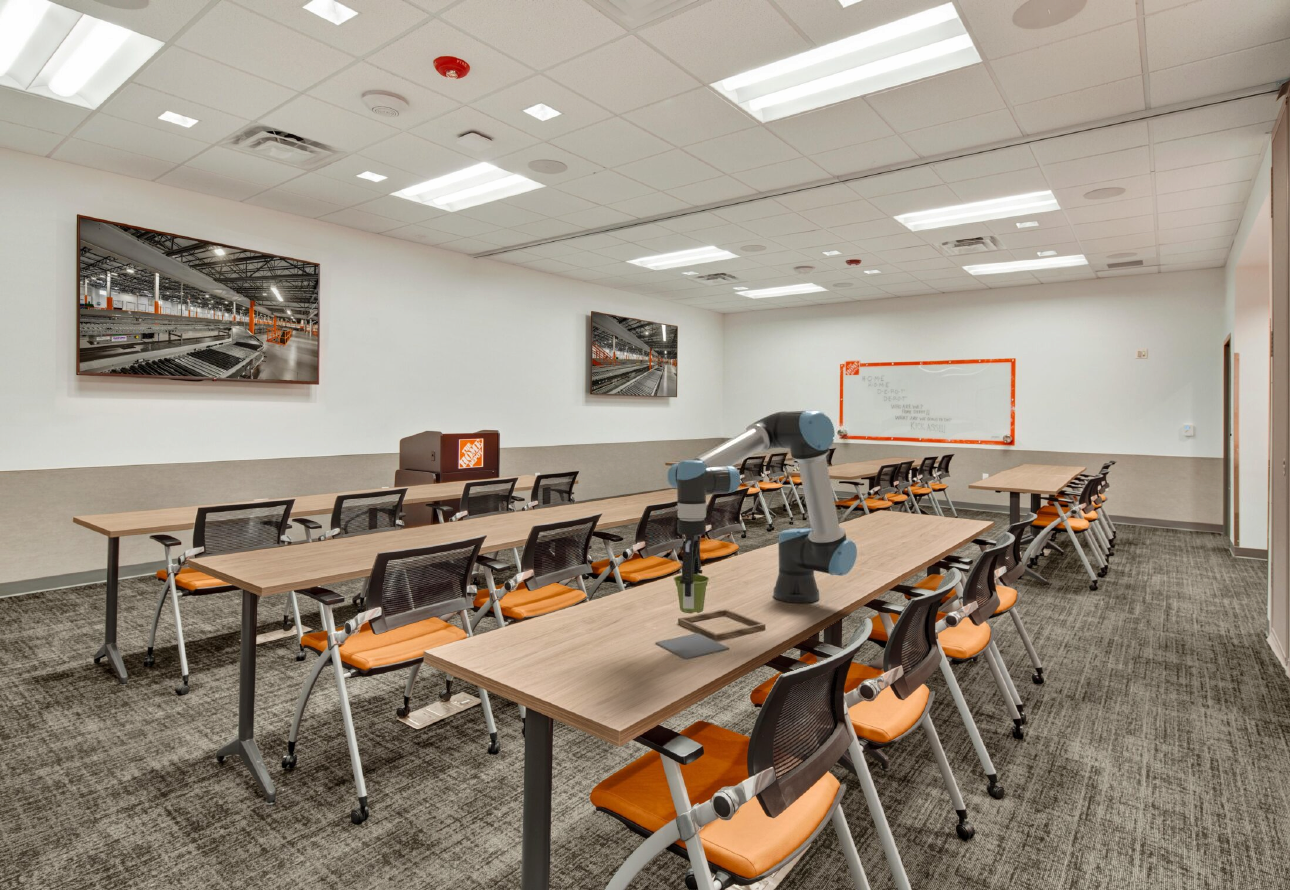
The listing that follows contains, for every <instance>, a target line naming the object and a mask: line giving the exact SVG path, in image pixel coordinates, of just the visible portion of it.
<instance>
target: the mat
mask: <svg viewBox="0 0 1290 890" xmlns="http://www.w3.org/2000/svg"><path fill="white" fill-rule="evenodd" d="M655 644H656V645H657V646H660V647H661V648H663V649H664V650H666V651H669V652H671V653H672V654H674V655H676V656H677V657H680V658H682V659H684V660H685V661H686V660H690V659H694V658H698V657H703V656H706V655H710V654H714V653H719V652H722V651H723V652H724V651H727V650H730V647H729V646H727V645H724V644H722V643H720V642H718V641H715V640H713V639H711V638H708V637H706V636H704V635H702V634H700V633H698V632H695V633H691V634H687V635H682V636H678V637H677V636H676V637H673V638H669V639H665V640H660V641H655Z"/></svg>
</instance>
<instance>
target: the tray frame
mask: <svg viewBox="0 0 1290 890" xmlns="http://www.w3.org/2000/svg"><path fill="white" fill-rule="evenodd" d="M722 616H726V617H729V618H732V619H734V620H735V621H736V620H737V621H739V622H741V623H745V624H747V625H749V626H745V627H741V628H736V629H731V630H728V631H722V632H718V633H716V632H714V631H711V630H709V629H707V628H705V627H702V626H700V625H697V624H696V623H694V622H698V621H704V620H709V619H712V618H718V617H722ZM677 623H678V625H680V626H682V627H684V628H687V629H689V630H691V631H693V632H695V633H699V634H701V635H703V636H705V637H707V638H709V639H712V640H714V641H716V642H718V641H721V640H726V639H729V638H734V637H739V636H743V635H747V634H750V633H756V632H760V631H765V630H766V623H763V622H761V621H759V620H756V619H753V618H750V617H747V616H745V615H742V614H740V613H737V612H735V611H733V610H729V609H727V608H724V609H719V610H718V609H717V610H713V611H709V612H705V613H704V612H703V613H697V614H695V615H687V616H685V617H684V616H683V617H679V618H677Z"/></svg>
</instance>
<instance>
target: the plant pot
mask: <svg viewBox="0 0 1290 890" xmlns="http://www.w3.org/2000/svg"><path fill="white" fill-rule="evenodd" d="M681 579H682V574H681V575H677V576H674V577H673V581H674V582H675V586H676V590H677V596H678V603H679V605H678V606H679V610H680V611H681V612H682V613H684V614H695V613H697V614H701V613H702V612H703V611H704V609H705V608H704V607H705V600H706V599H705V598H706V590H707V586H708V582H709V581H710V577H708V576H706V575H702V574H700V575H693V583H694V609H686V608H683V584H681V583H680V581H681Z"/></svg>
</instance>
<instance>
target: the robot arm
mask: <svg viewBox="0 0 1290 890" xmlns="http://www.w3.org/2000/svg"><path fill="white" fill-rule="evenodd" d="M834 438H835V428H834V423H833V422H832V420H831V418H830V417H829V416H828V415H827V414H825V413H824V412H822V411H815V410H800V411H799V410H797V411H796V410H793V411H785V410H784V411H777V412H775V413H772V414H769V415H767V416H765V417H762V418H761V419H759V420H757V421H754V422H752V423H751V424H749V425H748V426H747V427H746V429H745V430H744V431H743V432H741V433H739V434H737V435H736V436H734V437H732V438H730V439H729V440H726V441H725V442H723V443H721V444H719V445H717V446H716V447H714V448H712V449H710V450H708V451H706V452H705V453H702V454H700V455H699V456H697V457H695V458H694V459H685V460H680V461H679V462H678V463H674V464H672V465H671V466H670V467H669V469H668V471H667V476H666V477H667V481H668V484H669V485H670V486H671V487H672V488H674V489H676V490H677V493H676V494H677V505H675V508H674V509H676V510H677V518H679V519H677V521H676V522H677V529H676V530H677V533H678V534H679V535H681V536H682V535H683V536H685V539H684V541H683V543H682V563H681V564H682V565H681V566H682V567H681V575H682V579H681V581H680V583H681V584H683V608H686V609H694V583H693V575H702V574H703V569H702V566H701V536H703V535H705V534H706V532H707V521H706V520H705V518H706V517H707V496H708V495H709V496H710V495H718V494H719V495H720V494H721V495H723V494H725V495H727V494H729V493H734V492H736V491H737V490H738V488H739V487H740V484H741V475H740V474H741V473H740V472H739V471H738V469H737V468H736V467H735V465H737V464H739V463H740V462H742V461H745V460H746V459H747V458H749V457H751V456H753V455H754V454H756V453H764V452H766V451H769V450H771V449H772V450H773V449H789V450H790V455H791V458H792V459H793V460H794V461H796V462H797V465H798V469H799V474H800V480H801V484H802V489H803V494H804V499H805V500H804V501H805V504H806V509H807V514H808V519H809V524H810V528H794V529H793V528H791V529H790V528H789V529H785V530H782V531H780V533H779V536H778V543H777V545H778V575H777V578H776V582H775V586H774V587H773V597H774V598H775V599H777V600H778V601H783V602H787V603H795V604H796V603H797V604H798V603H799V604H804V603H805V604H807V603H808V604H809V603H813V602H816V601H818V600H819V599H820V591H819V589H818V585H817V580H816V578H815V572H819V573H824V574H829V575H831V576H840V577H843V576H845V575H848V574H849V573H850V572H851V571H852V569H853V568H854V566H855V564H856V561H857V556H858V555H857V554H858V549H857V545H856V543H855V542H854V541H853V540H851V539H847V534H846V531H845V529H844V528H843V527H842V526H840V525H839V524H840V523H839V519H838V513H837V508H836V504H835V502H836V501H835V499H834V498H835V497H834V493H833V488H832V482H831V479H830V478H831V477H830V472H829V469H828V468H829V467H828V462H827V455H829V453H830V448H831V446H832V445H833V443H834V442H835V439H834Z"/></svg>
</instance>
